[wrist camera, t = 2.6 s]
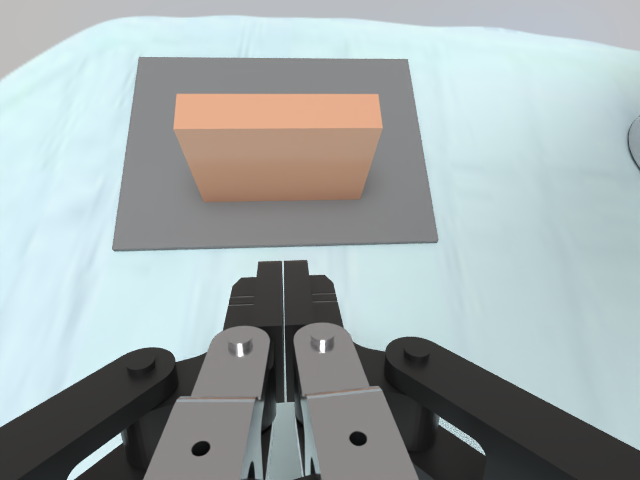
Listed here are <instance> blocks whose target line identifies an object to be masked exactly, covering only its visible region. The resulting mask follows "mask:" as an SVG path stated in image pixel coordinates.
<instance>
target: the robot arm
mask: <svg viewBox="0 0 640 480" xmlns="http://www.w3.org/2000/svg"><path fill="white" fill-rule="evenodd" d="M629 146H630V150H631V153H632V155H633V158H634V159H635V161H636V163H637V164H638V166H639V167H640V116H639V117H638V118H637V119H636V120H635V121H634V122H633V124H632V126H631V128H630V131H629ZM284 310H285V353H286V386H287V402H295V429H296V437H297V444H298V452H299V460H300V467H301V475H302V477H301V478H298V479H294V480H640V451H639V450H637V449H635V448H634V447H632V446H630V445H628V444H626V443H624V442H622V441H620V440H618V439H616V438H614V437H613V436H611V435H609V434H607V433H605V432H603V431H601V430H599V429H597V428H595V427H594V426H592V425H590V424H588V423H586V422H584V421H582V420H580V419H578V418H576V417H575V416H573V415H571V414H569V413H567V412H565V411H563V410H561V409H559V408H557V407H556V406H554V405H552V404H550V403H548V402H546V401H544V400H542V399H540V398H538V397H536V396H535V395H533V394H531V393H529V392H527V391H525V390H523V389H521V388H519V387H517V386H516V385H514V384H512V383H510V382H508V381H506V380H504V379H502V378H500V377H498V376H497V375H495V374H493V373H491V372H489V371H487V370H485V369H483V368H481V367H479V366H477V365H476V364H474V363H472V362H470V361H468V360H466V359H464V358H462V357H460V356H458V355H457V354H455V353H453V352H451V351H449V350H447V349H445V348H443V347H441V346H439V345H438V344H436V343H434V342H432V341H429V340H427V339H423V338H419V337H402V338H398V339H395V340H393V341H392V342H390V343H389V344H388V346H387V348H386V352H385V351H379V350H373V349H368V348H365V347H362V346H360V345H357V344H356V343H354V342H353V341H352V338H351V336H350V334H349V333H348V332H347V331H346V330H345V329H344V328H343V323H342V319H341V315H340V310H339V306H338V302H337V297H336V294H335V289H334V284H333V282H332V281H331V280H329V279H328V278H327V277H326V276H325V275H309V271H308V263H307V260H295V261H284ZM282 402H284V311H283V278H282V261H263V262H258V269H257V277H249V278H241V279H240V280H239V281H238V282H236V283H235V284H234V285H233V287H232V291H231V296H230V300H229V306H228V309H227V314H226V319H225V323H224V328H223V331H222V332H220V333H219V334H217V335H216V336H215V337H214V338H213V340H212V341H211V344H210V346H209V349H208V352H206V353H204V354H202V355H200V356H197V357H194V358H190V359H186V360H182V361H179V362H175V357H174V355H173V354H172V353H171V352H170V351H168V350H166V349H162V348H156V347H150V348H142V349H138V350H135V351H132V352H129V353H127V354H125V355H123V356H121V357H120V358H118V359H116V360H115V361H113V362H111V363H109V364H108V365H106V366H104V367H103V368H101V369H99V370H98V371H96V372H94V373H92V374H91V375H89V376H87V377H86V378H84V379H82V380H80V381H79V382H77V383H75V384H74V385H72V386H70V387H68V388H67V389H65V390H63V391H62V392H60V393H58V394H57V395H55V396H53V397H51V398H50V399H48V400H46V401H45V402H43V403H41V404H39V405H38V406H36V407H34V408H33V409H31V410H29V411H27V412H26V413H24V414H22V415H21V416H19V417H17V418H16V419H14V420H12V421H10V422H9V423H7V424H5V425H4V426H2V427H0V480H67V478H68V476H69V474H70V473H71V471H72V470H73V469H74V467H75V466H76V465H77V464H79V463H80V462H81V461H82V460H84V459H85V458H86V457H88V456H89V455H90V454H92V453H93V452H95V451H96V450H97V449H99V448H100V447H101V446H103V445H104V444H105V443H107V442H108V441H109V440H111V439H112V438H114V437H115V436H116V435H118V434H119V433H120V432H121V436H122V440H123V443H122V444H121V445H119V446H118V447H117V448H115V449H114V450H113V451H111V452H110V453H109V454H107V455H106V456H105V457H103V458H102V459H101V460H99V461H98V462H97V463H96V464H94V465H93V466H92V467H90V468H89V469H88V470H86V471H85V472H84V473H82V474H81V475H80V476H78V477H77V478H76V479H74V480H268V478H269V469H270V460H271V452H272V443H273V434H274V418H275V416H276V403H282ZM439 416H440V417H441V418H443V419H444V420H446V421H447V422H449V423H450V424H452V425H453V426H455V427H456V428H458V429H459V430H461V431H463V432H464V433H466V434H467V435H469V436H470V437H472V438H473V439H474V440H476V441H477V442H478V443H479V445H480V446H481V447H482V449H483V450H484V452H485V454H486V456H485V455H483V454H482V453H480V452H479V451H477V450H476V449H474V448H473V447H471V446H470V445H468V444H467V443H465V442H464V441H462V440H461V439H459V438H458V437H456V436H455V435H453V434H452V433H450V432H449V431H447V430H446V429H444V428H443V427H441V426H440V425H438V423H439Z"/></svg>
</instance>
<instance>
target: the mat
mask: <svg viewBox="0 0 640 480" xmlns="http://www.w3.org/2000/svg"><path fill="white" fill-rule="evenodd" d="M177 94H378V95H379V103H380V111H381V118H382V126H383V129H382V132H381V135H380V138H379V141H378V144H377V147H376V151H375V154H374V157H373V160H372V163H371V166H370V169H369V172H368V176H367V179H366V182H365V185H364V188H363V191H362V194H361V197H360V199H354V200H298V201H243V202H203V199H202V197H201V194H200V192H199V189H198V187H197V185H196V182H195V180H194V177H193V175H192V173H191V170H190V168H189V165H188V163H187V161H186V158H185V156H184V153H183V151H182V149H181V146H180V144H179V141H178V139H177V137H176V134H175V132H174V129H173V128H174V117H175V106H176V95H177ZM437 242H438V235H437V230H436V224H435V218H434V212H433V206H432V200H431V194H430V188H429V182H428V176H427V171H426V165H425V159H424V153H423V147H422V141H421V135H420V129H419V123H418V117H417V111H416V106H415V100H414V94H413V88H412V82H411V76H410V70H409V64H408V59H311V58H183V57H139V60H138V67H137V75H136V82H135V89H134V96H133V103H132V110H131V117H130V125H129V132H128V139H127V146H126V153H125V160H124V167H123V175H122V182H121V189H120V196H119V203H118V210H117V217H116V225H115V232H114V239H113V246H112V249H113V250H114V251H135V250H173V249H211V248H249V247H287V246H324V245H362V244H400V243H437Z"/></svg>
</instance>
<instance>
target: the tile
mask: <svg viewBox="0 0 640 480" xmlns="http://www.w3.org/2000/svg"><path fill="white" fill-rule="evenodd" d="M173 129H174V132H175V134H176V137H177V139H178V141H179V144H180V146H181V149H182V151H183V153H184V156H185V158H186V161H187V163H188V165H189V168H190V170H191V173H192V175H193V177H194V180H195V182H196V185H197V187H198V189H199V192H200V194H201V197H202V199H203V202H243V201H298V200H354V199H360V197H361V194H362V191H363V188H364V185H365V182H366V179H367V176H368V172H369V169H370V166H371V163H372V160H373V157H374V154H375V151H376V147H377V144H378V141H379V138H380V135H381V132H382V129H383V126H382V118H381V111H380V103H379V95H378V94H177V95H176V106H175V117H174V128H173Z"/></svg>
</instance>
